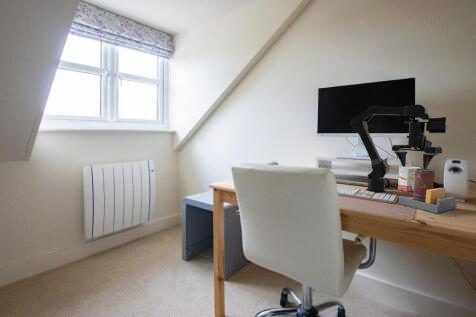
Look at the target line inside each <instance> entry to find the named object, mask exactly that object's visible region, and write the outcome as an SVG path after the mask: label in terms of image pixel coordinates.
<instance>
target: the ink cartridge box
mask: <svg viewBox="0 0 476 317" xmlns="http://www.w3.org/2000/svg"><path fill="white" fill-rule="evenodd" d="M401 165H402V164H401V163H400V164H399V170H398V172H399V173H398V184H397V185H398V187H397V190H398V191H401V190H402V191H401V192H405V193H407V192H408V193H409V192H414V181H415V171H416V169H421V167H418V166H412V165H413V161H412V160H406V164H405V167H401Z"/></svg>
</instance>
